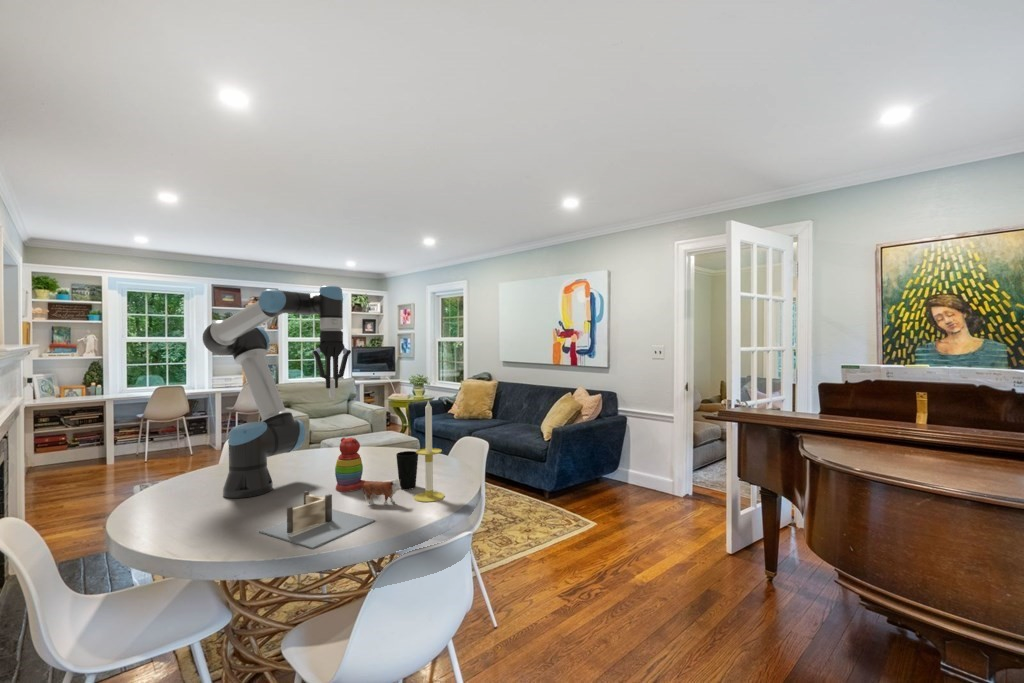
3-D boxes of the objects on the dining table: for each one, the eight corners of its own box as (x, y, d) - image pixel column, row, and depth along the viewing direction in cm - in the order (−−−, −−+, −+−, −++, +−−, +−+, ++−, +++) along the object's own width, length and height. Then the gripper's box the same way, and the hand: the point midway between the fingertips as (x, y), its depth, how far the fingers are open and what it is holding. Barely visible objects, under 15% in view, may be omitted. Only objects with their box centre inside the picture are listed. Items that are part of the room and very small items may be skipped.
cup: (423, 486, 169) (422, 452, 169) (407, 491, 163) (407, 456, 163) (407, 482, 173) (407, 450, 173) (391, 488, 167) (391, 454, 167)
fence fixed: (302, 515, 140) (301, 490, 140) (307, 513, 141) (307, 489, 141) (328, 522, 134) (328, 496, 134) (333, 520, 136) (333, 494, 136)
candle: (443, 501, 152) (442, 400, 152) (412, 502, 151) (411, 401, 151) (445, 492, 162) (444, 397, 162) (415, 493, 161) (415, 398, 161)
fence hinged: (322, 520, 134) (322, 497, 134) (325, 521, 134) (325, 497, 134) (286, 532, 126) (285, 507, 126) (288, 533, 125) (288, 508, 125)
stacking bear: (371, 485, 170) (371, 436, 170) (351, 493, 161) (350, 441, 161) (348, 482, 175) (348, 434, 175) (327, 489, 166) (327, 439, 166)
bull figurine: (399, 507, 147) (399, 481, 147) (360, 504, 150) (360, 479, 150) (405, 502, 151) (405, 477, 151) (367, 500, 154) (366, 475, 154)
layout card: (259, 532, 128) (259, 530, 128) (324, 508, 147) (324, 507, 147) (312, 549, 117) (312, 547, 117) (375, 521, 136) (375, 519, 136)
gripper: (313, 330, 159) (314, 400, 159) (353, 330, 166) (353, 397, 166) (309, 330, 165) (310, 398, 165) (347, 330, 172) (348, 395, 172)
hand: (332, 397), depth 165 cm, fingers closed
